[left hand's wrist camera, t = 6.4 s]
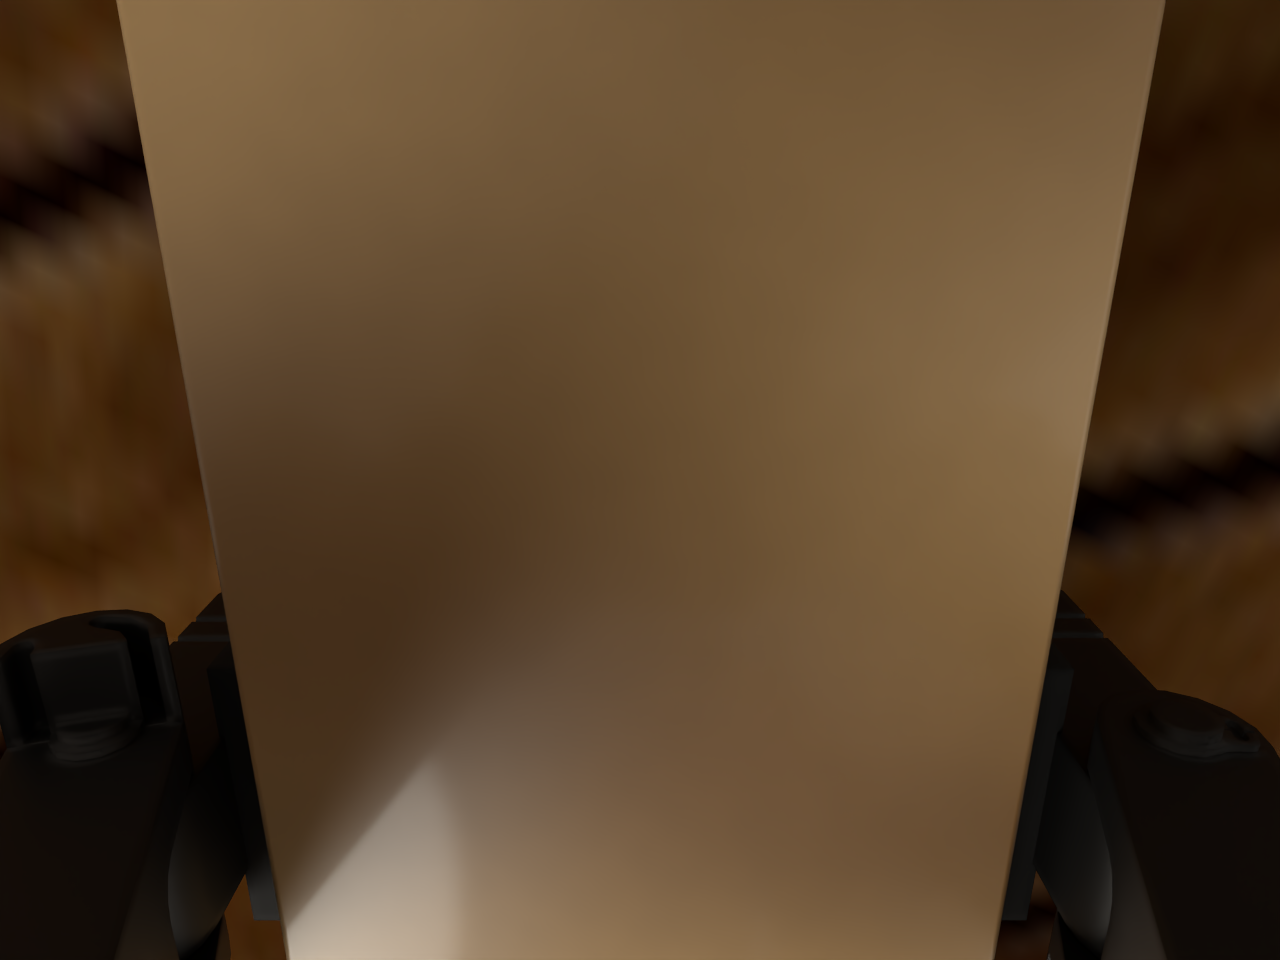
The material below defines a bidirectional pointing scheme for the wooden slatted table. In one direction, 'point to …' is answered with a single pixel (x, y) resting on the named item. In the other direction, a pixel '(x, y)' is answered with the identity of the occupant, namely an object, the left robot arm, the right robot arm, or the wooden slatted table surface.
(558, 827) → the post
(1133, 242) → the wooden slatted table surface
